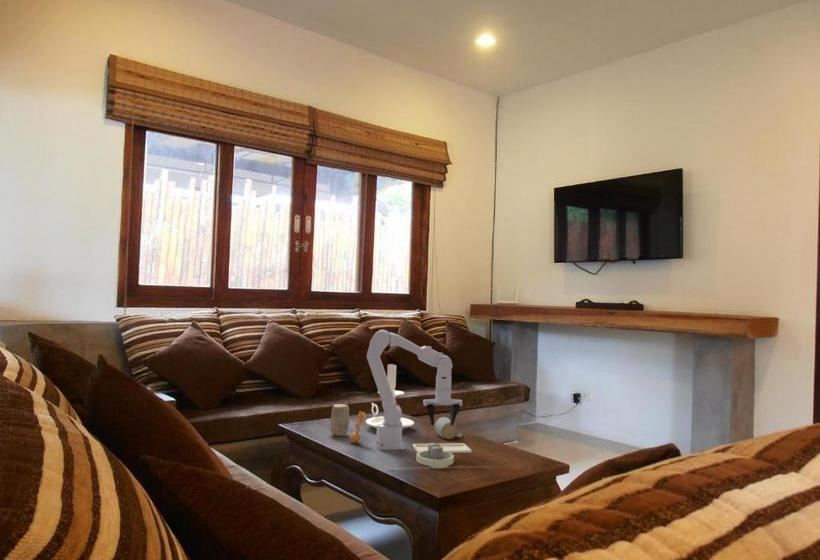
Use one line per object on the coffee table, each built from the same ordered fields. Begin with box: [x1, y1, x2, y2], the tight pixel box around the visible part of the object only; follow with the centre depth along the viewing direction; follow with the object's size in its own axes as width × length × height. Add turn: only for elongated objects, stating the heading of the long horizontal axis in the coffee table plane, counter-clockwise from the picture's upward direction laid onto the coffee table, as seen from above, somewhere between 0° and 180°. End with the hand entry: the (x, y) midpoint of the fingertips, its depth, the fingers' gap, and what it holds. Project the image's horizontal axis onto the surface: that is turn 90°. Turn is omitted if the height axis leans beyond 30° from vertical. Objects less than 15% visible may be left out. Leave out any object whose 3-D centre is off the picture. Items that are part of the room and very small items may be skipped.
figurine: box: [349, 410, 368, 444], centre depth 219 cm, size 8×6×12 cm
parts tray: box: [412, 442, 473, 454], centre depth 212 cm, size 20×10×1 cm, turn 101°
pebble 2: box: [431, 446, 443, 460], centre depth 195 cm, size 4×4×5 cm
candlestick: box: [365, 364, 415, 431], centre depth 245 cm, size 21×25×28 cm
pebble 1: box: [427, 442, 441, 459], centre depth 200 cm, size 4×4×5 cm
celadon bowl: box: [415, 450, 455, 469], centre depth 197 cm, size 13×13×3 cm
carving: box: [329, 403, 350, 437], centre depth 230 cm, size 6×8×12 cm
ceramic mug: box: [434, 416, 463, 440], centre depth 232 cm, size 11×8×8 cm
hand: (442, 424), depth 213 cm, fingers open, 7 cm apart
